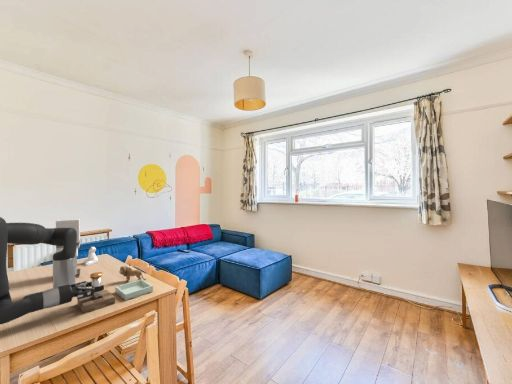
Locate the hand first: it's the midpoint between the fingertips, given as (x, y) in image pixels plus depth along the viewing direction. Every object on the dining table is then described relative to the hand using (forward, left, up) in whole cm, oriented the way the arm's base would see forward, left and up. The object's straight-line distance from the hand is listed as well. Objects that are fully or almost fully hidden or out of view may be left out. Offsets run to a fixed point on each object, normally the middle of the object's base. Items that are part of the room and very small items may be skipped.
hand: (100, 284), depth 112 cm
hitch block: (0, -2, -8) cm, 9 cm away
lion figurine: (-16, +20, -9) cm, 27 cm away
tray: (0, +15, -8) cm, 17 cm away
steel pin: (0, -2, -8) cm, 9 cm away
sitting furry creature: (-71, +13, -9) cm, 73 cm away
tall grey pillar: (-52, -3, -9) cm, 53 cm away
